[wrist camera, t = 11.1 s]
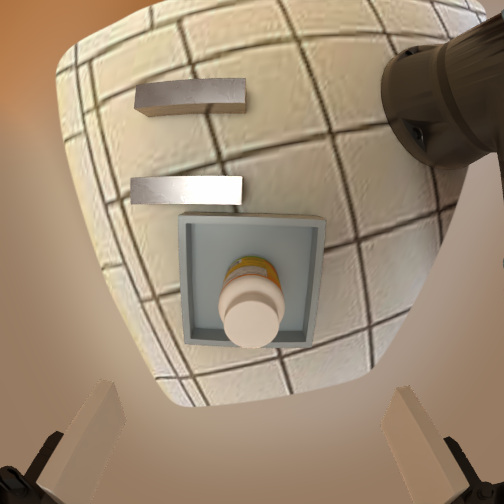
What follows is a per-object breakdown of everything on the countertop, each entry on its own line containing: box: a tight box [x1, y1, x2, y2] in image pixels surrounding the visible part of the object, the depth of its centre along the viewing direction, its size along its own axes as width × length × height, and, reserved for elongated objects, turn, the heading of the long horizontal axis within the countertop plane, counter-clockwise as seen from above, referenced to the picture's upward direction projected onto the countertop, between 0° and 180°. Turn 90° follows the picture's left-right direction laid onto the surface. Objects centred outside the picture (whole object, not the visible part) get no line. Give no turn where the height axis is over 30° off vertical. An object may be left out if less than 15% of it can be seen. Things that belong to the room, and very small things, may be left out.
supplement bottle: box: [218, 255, 285, 349], centre depth 24 cm, size 5×5×10 cm
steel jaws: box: [131, 78, 246, 205], centre depth 24 cm, size 10×11×4 cm
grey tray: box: [178, 212, 326, 348], centre depth 28 cm, size 13×13×3 cm
